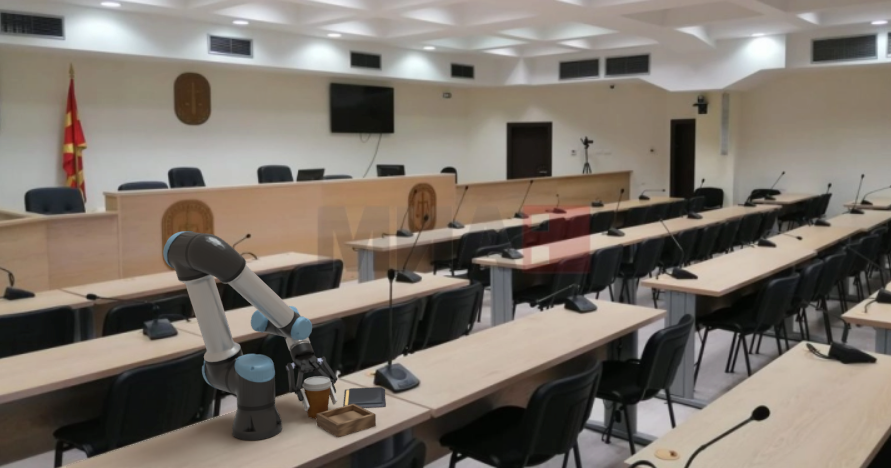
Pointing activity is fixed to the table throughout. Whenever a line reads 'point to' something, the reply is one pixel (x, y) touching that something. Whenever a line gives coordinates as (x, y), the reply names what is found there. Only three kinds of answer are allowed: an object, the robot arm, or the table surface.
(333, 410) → the tray
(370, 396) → the wallet
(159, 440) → the table surface
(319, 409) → the disposable coffee cup
